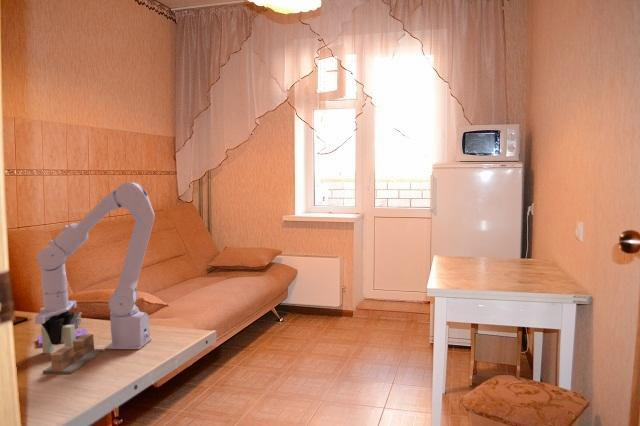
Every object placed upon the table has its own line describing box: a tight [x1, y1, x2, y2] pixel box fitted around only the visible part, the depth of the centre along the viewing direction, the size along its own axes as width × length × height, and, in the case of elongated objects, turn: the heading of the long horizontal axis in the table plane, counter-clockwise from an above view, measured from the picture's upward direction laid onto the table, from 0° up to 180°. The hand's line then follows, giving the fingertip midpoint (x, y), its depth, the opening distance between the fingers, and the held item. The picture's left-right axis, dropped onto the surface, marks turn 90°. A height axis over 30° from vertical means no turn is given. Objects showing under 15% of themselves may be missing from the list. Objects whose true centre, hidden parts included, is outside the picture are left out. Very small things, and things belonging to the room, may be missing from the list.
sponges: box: [37, 327, 89, 348], centre depth 138 cm, size 7×13×2 cm, turn 121°
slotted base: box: [42, 333, 104, 375], centre depth 121 cm, size 14×7×5 cm, turn 175°
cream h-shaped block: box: [40, 325, 76, 354], centre depth 128 cm, size 8×2×7 cm, turn 85°
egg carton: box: [70, 311, 83, 330], centre depth 150 cm, size 11×8×4 cm
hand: (59, 342), depth 128 cm, fingers closed on cream h-shaped block, 2 cm apart
